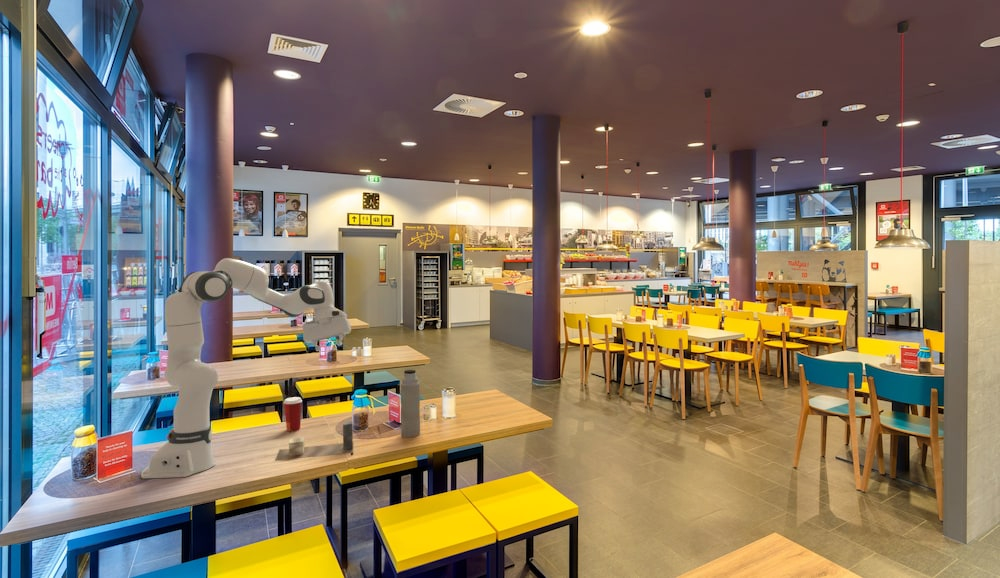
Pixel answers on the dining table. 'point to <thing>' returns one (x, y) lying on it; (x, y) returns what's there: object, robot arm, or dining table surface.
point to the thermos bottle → (410, 404)
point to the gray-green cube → (296, 446)
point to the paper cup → (293, 413)
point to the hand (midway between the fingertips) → (329, 347)
